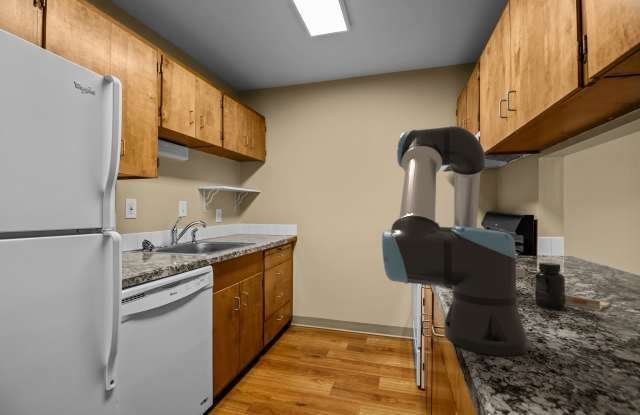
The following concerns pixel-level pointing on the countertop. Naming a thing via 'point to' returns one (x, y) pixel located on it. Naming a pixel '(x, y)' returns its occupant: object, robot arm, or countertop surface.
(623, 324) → the countertop surface
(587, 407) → the countertop surface
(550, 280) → the supplement bottle
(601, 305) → the flat beige box
